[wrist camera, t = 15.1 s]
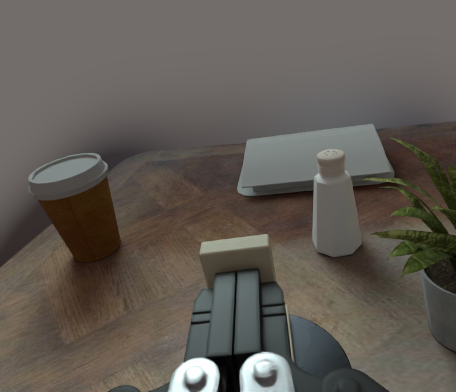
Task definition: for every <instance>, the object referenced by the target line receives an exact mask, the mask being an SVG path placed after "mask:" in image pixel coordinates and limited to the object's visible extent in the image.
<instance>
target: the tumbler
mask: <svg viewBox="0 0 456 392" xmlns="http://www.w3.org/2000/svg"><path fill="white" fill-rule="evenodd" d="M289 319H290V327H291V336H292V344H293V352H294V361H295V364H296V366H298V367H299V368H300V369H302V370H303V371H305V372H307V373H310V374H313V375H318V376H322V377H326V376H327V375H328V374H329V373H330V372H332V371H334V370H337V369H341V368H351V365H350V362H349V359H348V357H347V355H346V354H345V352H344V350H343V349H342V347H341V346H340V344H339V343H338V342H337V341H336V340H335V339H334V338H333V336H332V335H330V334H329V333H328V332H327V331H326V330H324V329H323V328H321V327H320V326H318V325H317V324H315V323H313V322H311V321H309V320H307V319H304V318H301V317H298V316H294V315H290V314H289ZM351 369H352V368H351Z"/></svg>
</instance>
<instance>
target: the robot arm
mask: <svg viewBox="0 0 456 392" xmlns="http://www.w3.org/2000/svg"><path fill="white" fill-rule="evenodd" d="M192 313H193V315H192V318H191V325H190V329H189V335H188V340H187V346H186V352H185V357H184V362H183V364H181V365H180V366H179V367H178V368H177V369H176V370H175V372H174V374H173V375H172V378H171V381H170V382H169V383H167V384H165V385H163V386H161V387H159V388H156V389H154V390H151V391H149V392H389V391H388V390H386V389H385V388H384V387H382V386H381V385H380V384H378V383H377V382H376V381H374V380H373V379H372V378H370V377H369V376H368V375H366V374H365V373H363V372H361V371H359V370H356V369H351V368H341V369H337V370H334V371H332V372H330V373H329V374H328V375H327V376H326V377H322V376H318V375H313V374H310V373H307V372H305V371H303V370H302V369H300V368H299V367H298V366H296V364H295V363H294V362H293V360H292V356H291V347H290V338H289V329H288V321H287V315H286V308H285V302H284V295H283V291H282V289H281V288H280V287H279V285H278V284H277V283H276V281H272V282H263V283H262V281H261V276H260V271H259V268H253V269H244V270H238V272H237V271H228V272H219V273H216V274H215V280H214V288H211V289H202V290H201V292H200V293H199V295H198V296H197V298H196V299H195V301H194V306H193V312H192ZM108 392H140V391H139V390H138V389H137V388H136V387H134V386H130V385H122V386H118V387H115V388H113V389H111V390H110V391H108Z"/></svg>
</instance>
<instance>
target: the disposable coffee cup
mask: <svg viewBox="0 0 456 392" xmlns="http://www.w3.org/2000/svg"><path fill="white" fill-rule="evenodd" d="M107 169H108V166H107V164H106V163H105V162H103V160H102V159H101V157H100V156H99V155H98V154H94V153H83V154H76V155H71V156H68V157H64V158H61V159H58V160H55V161H52V162H50V163H48V164H46V165H44V166H42V167H40V168H38V169H37V170H35V171H34V172H33V173H32V174H31V175H30V176H29V178H28V180H29V189H28V191H29V192H30V194H31V195H33V196H34V197H35V198H36V199H37V200H38V201H39V202H40V204H41V205H42V207H43V209H44V210H45V212H46V213H47V215H48V217H49V218H50V219H51V221H52V223H53V225H54V226H55V228H56V229H57V231H58V232H59V234H60V236H61V237H62V239H63V240H64V242H65V244H66V245H67V247H68V248H69V250H70V251H71V253H72V255H73V256H74V258H75V259H76V260H77V261H80V262H92V261H96V260H99V259H102V258H104V257H106V256H108V255H110V254H111V253H112V252H114V251H115V250H116V249H117V248H118V247H119V245H120V242H121V240H120V236H119V231H118V226H117V222H116V217H115V212H114V207H113V202H112V198H111V193H110V188H109V184H108V179H107Z"/></svg>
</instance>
